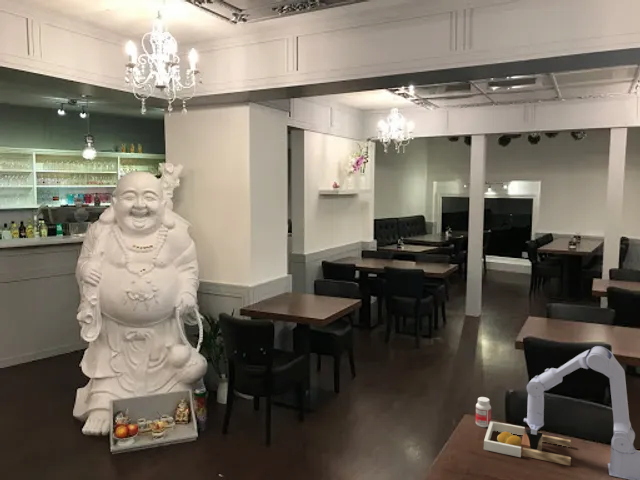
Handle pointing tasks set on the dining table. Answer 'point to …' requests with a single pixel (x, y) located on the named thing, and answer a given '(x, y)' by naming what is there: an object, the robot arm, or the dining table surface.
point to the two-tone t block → (526, 443)
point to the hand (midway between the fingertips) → (534, 444)
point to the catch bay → (503, 447)
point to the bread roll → (509, 439)
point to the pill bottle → (483, 412)
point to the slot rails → (550, 456)
